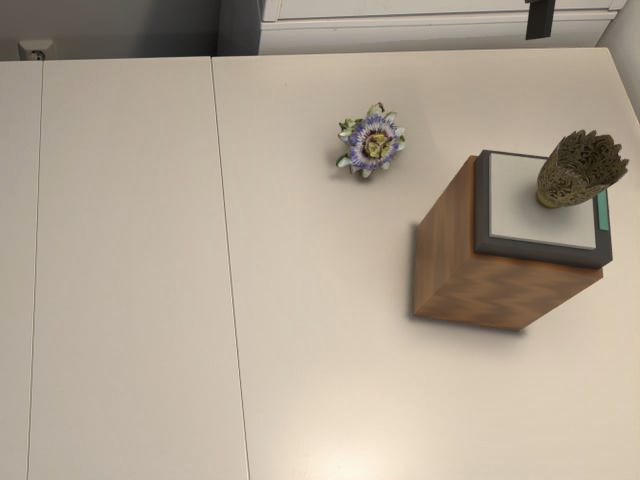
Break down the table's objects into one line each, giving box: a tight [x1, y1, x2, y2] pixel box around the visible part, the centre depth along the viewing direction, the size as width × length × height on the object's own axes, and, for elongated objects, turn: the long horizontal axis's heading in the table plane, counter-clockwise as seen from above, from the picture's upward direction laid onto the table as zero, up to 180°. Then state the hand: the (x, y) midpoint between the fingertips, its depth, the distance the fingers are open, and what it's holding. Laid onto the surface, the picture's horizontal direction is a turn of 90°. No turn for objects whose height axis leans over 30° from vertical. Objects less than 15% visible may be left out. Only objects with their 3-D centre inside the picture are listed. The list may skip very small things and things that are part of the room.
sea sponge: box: [536, 129, 631, 209], centre depth 65 cm, size 8×7×8 cm
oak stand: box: [412, 154, 604, 332], centre depth 80 cm, size 16×16×18 cm
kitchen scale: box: [474, 148, 614, 270], centre depth 70 cm, size 15×14×3 cm
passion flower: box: [334, 101, 407, 179], centre depth 93 cm, size 11×11×12 cm
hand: (601, 28), depth 58 cm, fingers open, 13 cm apart
